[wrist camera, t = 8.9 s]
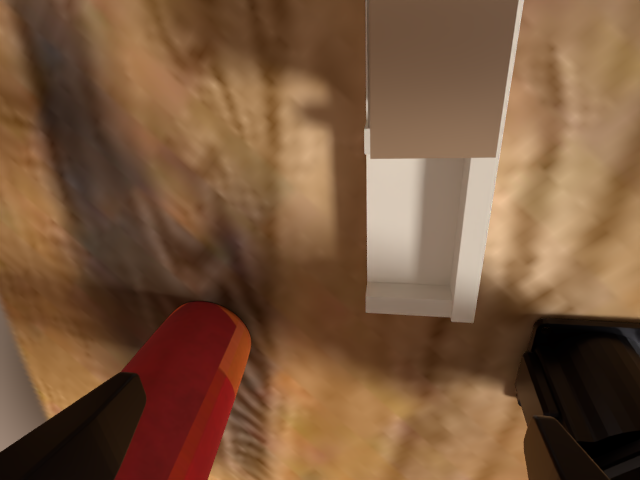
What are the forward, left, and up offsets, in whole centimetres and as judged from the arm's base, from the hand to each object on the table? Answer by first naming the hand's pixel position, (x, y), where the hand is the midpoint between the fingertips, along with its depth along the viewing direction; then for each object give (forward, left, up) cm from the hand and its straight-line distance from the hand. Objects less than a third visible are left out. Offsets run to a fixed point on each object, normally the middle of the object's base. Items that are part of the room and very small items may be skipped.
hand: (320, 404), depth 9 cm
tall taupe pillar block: (-2, -7, -11) cm, 13 cm away
